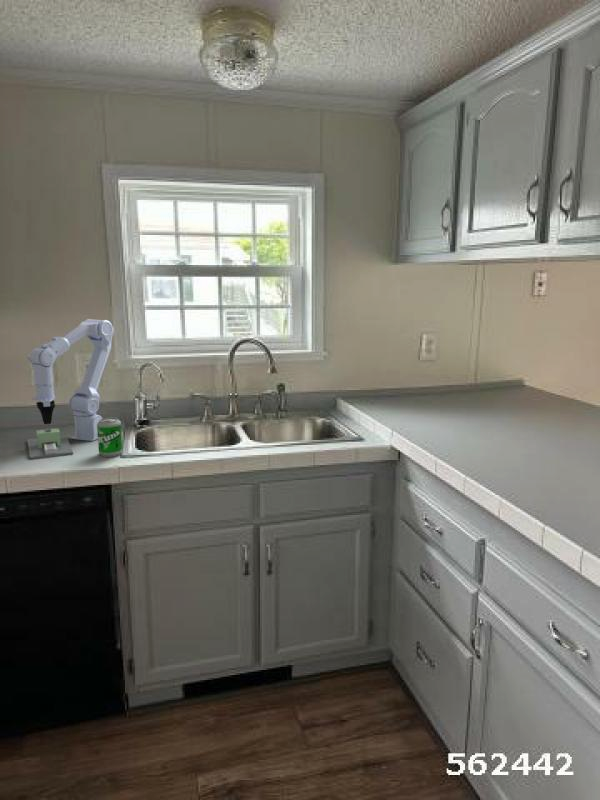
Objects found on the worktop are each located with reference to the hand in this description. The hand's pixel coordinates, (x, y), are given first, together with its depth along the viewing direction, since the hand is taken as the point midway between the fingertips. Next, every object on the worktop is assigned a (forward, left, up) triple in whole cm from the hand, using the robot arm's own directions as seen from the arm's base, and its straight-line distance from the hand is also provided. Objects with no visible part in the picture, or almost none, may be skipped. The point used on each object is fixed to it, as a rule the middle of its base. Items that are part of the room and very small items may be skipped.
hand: (47, 423), depth 187 cm
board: (0, 0, -9) cm, 9 cm away
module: (0, 0, -8) cm, 8 cm away
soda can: (-24, 0, -9) cm, 26 cm away
